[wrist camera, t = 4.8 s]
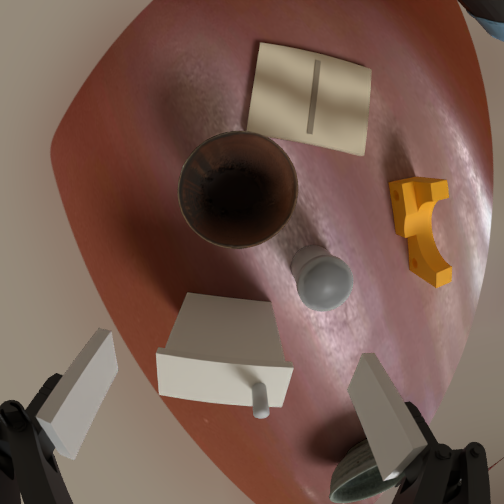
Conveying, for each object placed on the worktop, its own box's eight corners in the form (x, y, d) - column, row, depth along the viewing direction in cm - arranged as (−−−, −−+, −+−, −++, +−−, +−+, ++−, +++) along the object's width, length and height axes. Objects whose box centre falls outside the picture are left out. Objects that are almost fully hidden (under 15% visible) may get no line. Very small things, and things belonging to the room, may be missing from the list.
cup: (298, 181, 29) (325, 185, 20) (243, 242, 31) (244, 274, 21) (236, 126, 27) (234, 104, 18) (181, 190, 29) (153, 198, 19)
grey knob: (292, 240, 31) (302, 255, 25) (338, 244, 31) (358, 259, 26) (285, 287, 33) (294, 310, 27) (330, 289, 33) (346, 312, 27)
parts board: (259, 46, 25) (260, 42, 24) (368, 71, 26) (371, 69, 25) (245, 134, 28) (246, 132, 27) (360, 156, 29) (364, 155, 28)
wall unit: (184, 288, 32) (146, 377, 17) (275, 299, 33) (300, 393, 18) (182, 323, 33) (151, 418, 18) (268, 333, 34) (285, 431, 19)
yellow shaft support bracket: (387, 182, 30) (418, 186, 23) (415, 176, 30) (446, 179, 23) (398, 273, 33) (425, 292, 27) (423, 264, 33) (451, 281, 27)
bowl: (328, 430, 41) (341, 473, 31) (422, 406, 42) (444, 438, 32) (313, 477, 47) (321, 511, 37) (393, 458, 47) (406, 486, 38)
